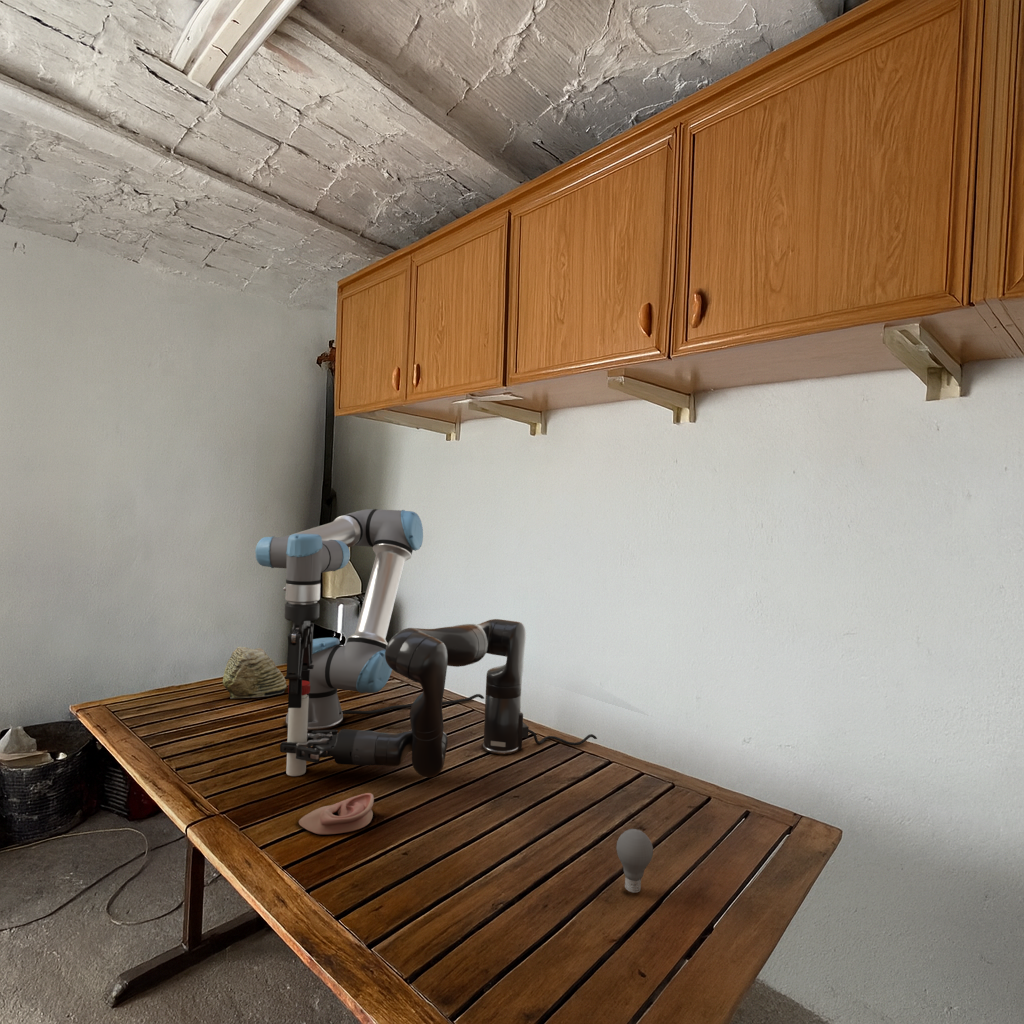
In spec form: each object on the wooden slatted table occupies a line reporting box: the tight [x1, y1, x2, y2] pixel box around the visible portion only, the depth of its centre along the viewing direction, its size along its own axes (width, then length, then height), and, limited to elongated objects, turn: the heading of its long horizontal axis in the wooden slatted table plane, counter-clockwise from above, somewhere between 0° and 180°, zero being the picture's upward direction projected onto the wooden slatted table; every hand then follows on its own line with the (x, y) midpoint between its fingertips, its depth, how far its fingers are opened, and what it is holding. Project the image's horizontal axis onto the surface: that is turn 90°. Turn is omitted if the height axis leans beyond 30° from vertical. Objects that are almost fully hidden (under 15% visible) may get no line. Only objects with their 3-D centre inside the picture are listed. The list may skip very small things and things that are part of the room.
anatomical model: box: [298, 792, 375, 835], centre depth 124 cm, size 13×4×12 cm
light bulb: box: [615, 828, 654, 894], centre depth 106 cm, size 6×6×10 cm
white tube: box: [285, 695, 309, 777], centre depth 145 cm, size 4×4×19 cm
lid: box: [287, 680, 310, 695], centre depth 145 cm, size 5×5×2 cm
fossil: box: [222, 646, 288, 699], centre depth 198 cm, size 9×18×15 cm, turn 132°
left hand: (298, 702), depth 145 cm, fingers open, 6 cm apart
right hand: (285, 742), depth 145 cm, fingers closed on white tube, 4 cm apart
